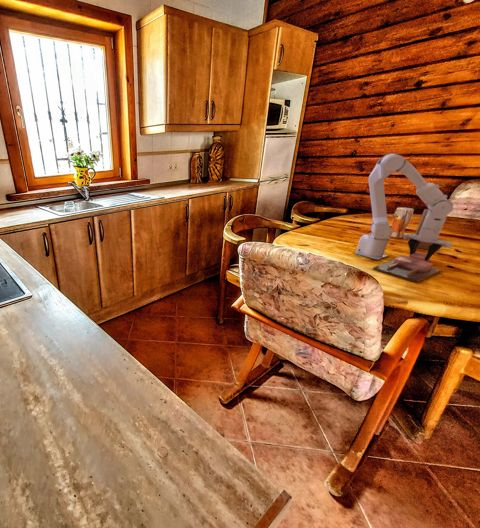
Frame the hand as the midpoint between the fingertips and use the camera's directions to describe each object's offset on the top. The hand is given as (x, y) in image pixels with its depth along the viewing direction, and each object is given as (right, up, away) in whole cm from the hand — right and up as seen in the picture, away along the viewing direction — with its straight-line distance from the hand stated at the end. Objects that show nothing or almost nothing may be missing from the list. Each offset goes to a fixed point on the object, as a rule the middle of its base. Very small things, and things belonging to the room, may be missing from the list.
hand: (419, 258), depth 119 cm
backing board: (-13, -5, -7) cm, 15 cm away
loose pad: (0, -1, +1) cm, 1 cm away
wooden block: (+16, +5, +13) cm, 22 cm away
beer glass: (+18, +12, +29) cm, 37 cm away
